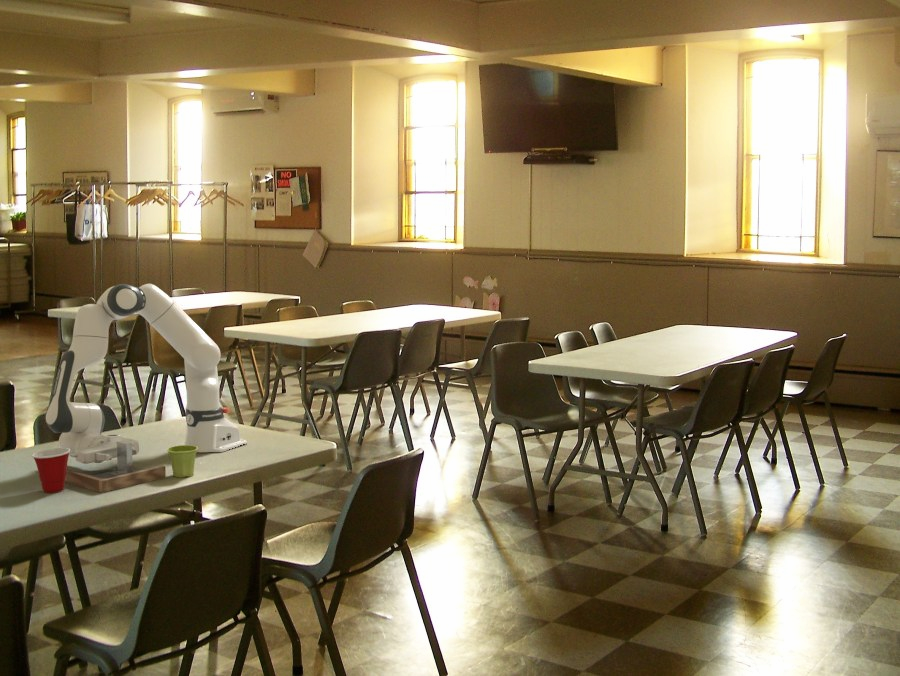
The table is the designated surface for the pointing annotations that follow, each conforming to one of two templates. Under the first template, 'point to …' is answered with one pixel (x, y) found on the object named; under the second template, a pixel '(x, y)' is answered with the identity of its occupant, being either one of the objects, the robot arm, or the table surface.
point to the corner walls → (115, 479)
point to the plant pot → (182, 460)
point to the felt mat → (106, 475)
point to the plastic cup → (52, 468)
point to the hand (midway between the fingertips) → (122, 454)
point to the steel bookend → (123, 459)
